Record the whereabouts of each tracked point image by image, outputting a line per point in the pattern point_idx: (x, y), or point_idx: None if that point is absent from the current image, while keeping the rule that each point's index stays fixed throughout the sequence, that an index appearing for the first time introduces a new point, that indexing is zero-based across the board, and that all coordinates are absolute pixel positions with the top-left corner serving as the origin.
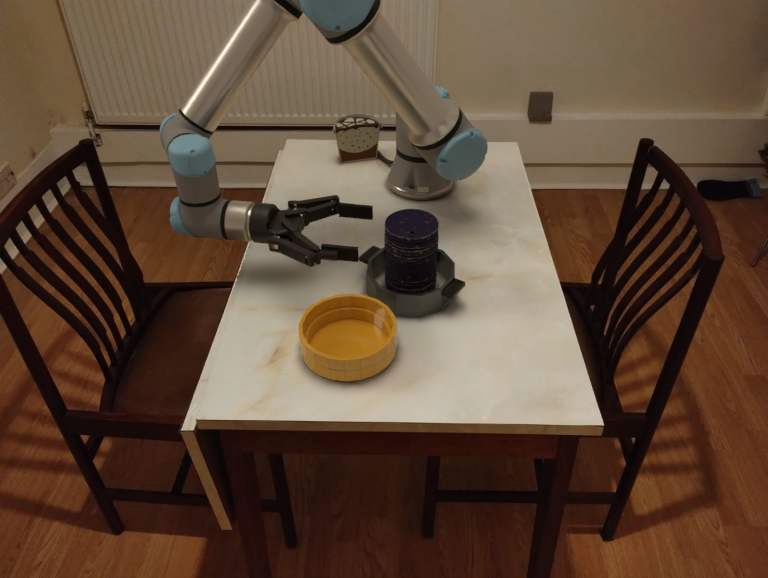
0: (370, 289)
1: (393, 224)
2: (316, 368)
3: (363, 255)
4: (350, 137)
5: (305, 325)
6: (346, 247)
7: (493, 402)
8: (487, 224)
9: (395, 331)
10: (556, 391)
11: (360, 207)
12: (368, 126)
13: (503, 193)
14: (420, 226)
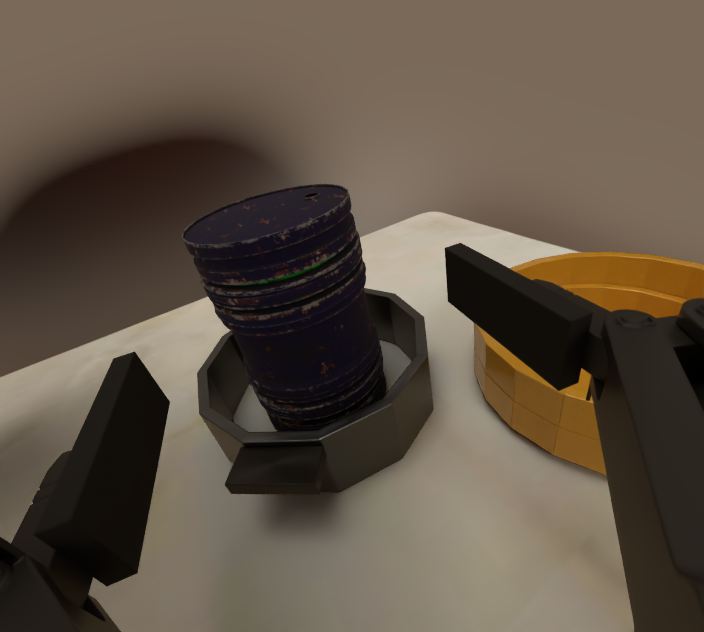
0: (412, 412)
1: (286, 222)
2: None
3: (298, 475)
4: None
5: None
6: (482, 260)
7: (481, 238)
8: (66, 393)
9: (525, 263)
10: (419, 227)
11: (121, 394)
12: None
13: None
14: (273, 203)
